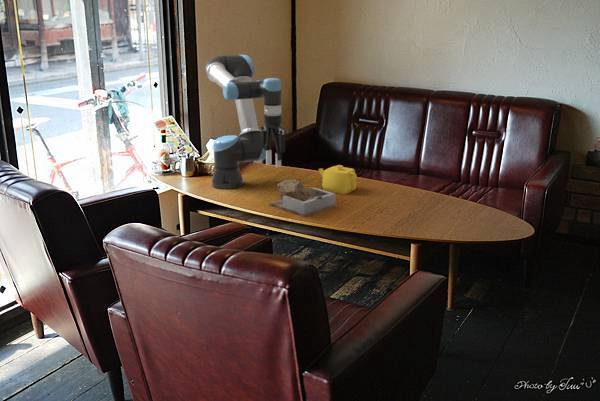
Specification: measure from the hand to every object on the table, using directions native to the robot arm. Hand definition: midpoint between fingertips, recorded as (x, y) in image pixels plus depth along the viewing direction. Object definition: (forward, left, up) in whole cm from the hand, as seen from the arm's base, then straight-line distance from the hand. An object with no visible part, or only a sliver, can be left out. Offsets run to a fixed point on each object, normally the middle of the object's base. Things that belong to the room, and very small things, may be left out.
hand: (273, 165), depth 288 cm
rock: (+12, 0, -14) cm, 18 cm away
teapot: (+12, +29, -15) cm, 35 cm away
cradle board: (+18, 0, -15) cm, 23 cm away
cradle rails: (+23, 0, -14) cm, 27 cm away
